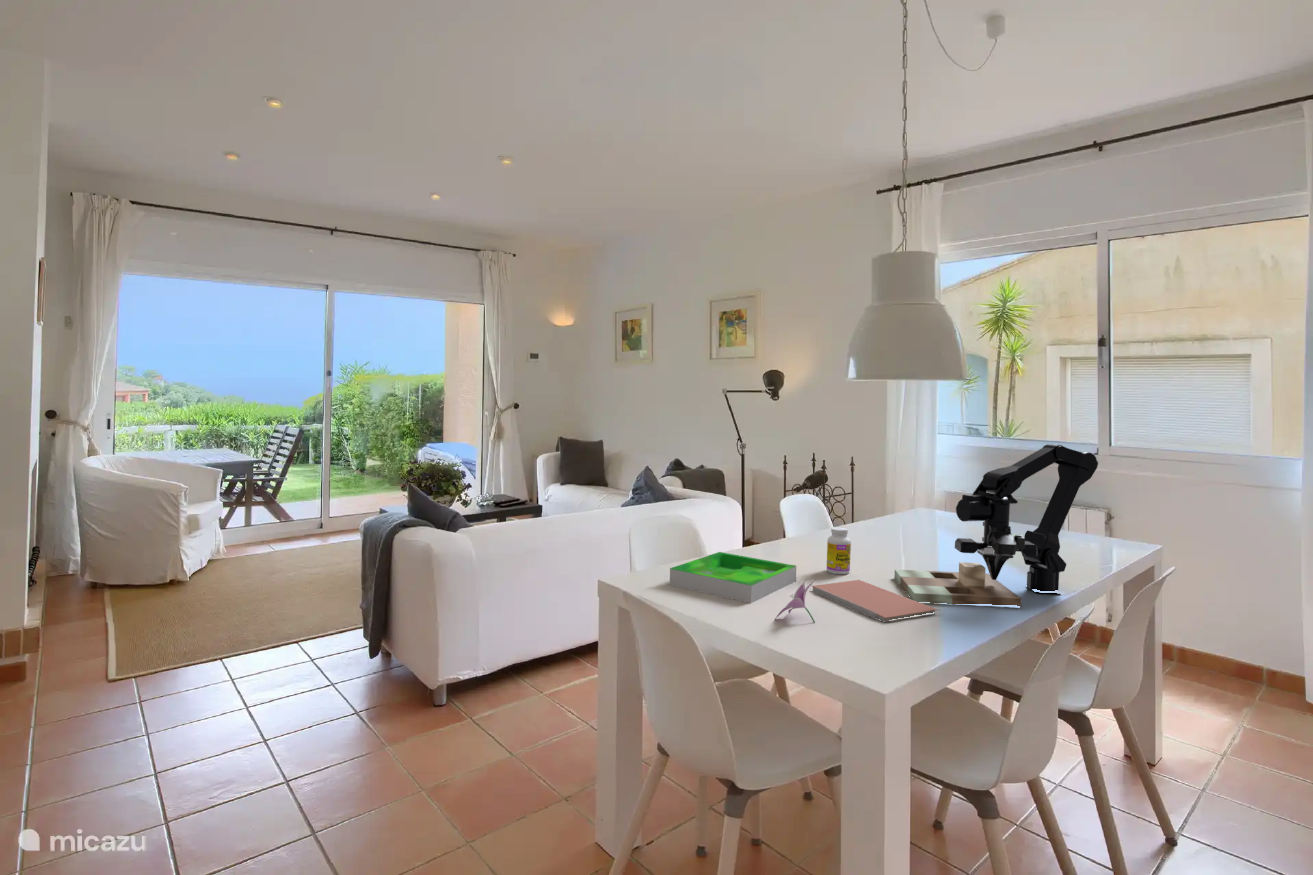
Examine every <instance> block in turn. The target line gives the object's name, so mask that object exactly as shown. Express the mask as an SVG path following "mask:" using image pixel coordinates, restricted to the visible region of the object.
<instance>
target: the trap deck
mask: <svg viewBox="0 0 1313 875" xmlns="http://www.w3.org/2000/svg"><path fill="white" fill-rule="evenodd" d="M958 578H959V571H941V570H939V571H938V570H937V571H936V570H917V569H915V570H914V569H896V568H895V569H894V580H895V581H896V580H897V581H896V582H897V583H898V584H899V586H900V587H901V589H904V590H903V591H904V592H905V591H906V592H905V593H906V595H907V594H908V595H909V596H910V597H909V596H908V595H907V596H908V597H909V599H912V600H914V601H916V602H930V603H947V604H992V605H1017V606H1021V607H1022V598H1021V597H1020V596H1019V595H1017V594H1016V593H1015V592H1013V591H1012V590H1011V589H1009V588H1008V587H1007V586H1005V585H1004V584H1003V583H1002V582H1000V581H999V580H997V579H996V580H992V579H991V576H990V573H985V587H976V586H964V585H963V584H962V583H960V582H959V581H958Z"/></svg>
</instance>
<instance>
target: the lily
mask: <svg viewBox="0 0 1313 875" xmlns="http://www.w3.org/2000/svg"><path fill="white" fill-rule="evenodd" d="M815 581H816V579H814V580H813V581H811V582H810V583H809V584H808V585H807V586H805V583H806V582H805V581H804V582H802V583H801V585H800V586H799V587H798V588H797V590H795V592H794V594H793V593H792V594H791V595H789V597H790V598H792V599H791V600H790V601H789V602H788V603H787V605H785V607H783V609H781V610H780V611H779V612H778V614H777V615H776V617H774V620H776V619H777V618H778V617H779V616H781V615H782V613H784V612H785V611H787V610H788V613H787V614H790V613H791V612H792V610H794V609H805V610H806V611H807V613H808V615H809V616H810V618H811V621H812V622H813V624H815V623H816V621H815V620H814V618H813V616H812V614H811V612H810V611H809V609H808V608H807V607H806V595H807V592H808V590H809V588H810V587H812V586H813V583H815Z"/></svg>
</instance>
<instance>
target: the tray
mask: <svg viewBox="0 0 1313 875" xmlns="http://www.w3.org/2000/svg"><path fill="white" fill-rule="evenodd" d="M795 582H796V583H797V565H794V564H789V563H783V562H776V561H772V560H766V559H761V558H756V557H751V556H743V555H739V554H733V553H727V552H723V551H718V552H715V553H712V554H709V555H706V556H703V557H699V558H698V559H694V560H691V561H687V562H685V563H682V564H679V565H676V566H673V567H670V568H669V586H673V587H676V588H677V587H678V588H681V587H682V588H681V589H687V590H690V589H691V591H695V592H699V593H704V594H708V593H709V594H708V595H712V596H717V595H718V596H717V597H721V596H722V598H727V599H730V598H732V600H734V599H735V601H739V600H740V602H743V603H744V602H745V603H748V602H749V604H753V603H755V602H757V601H759V600H761V599H763V598H765V597H767V596H769V595H771V594H774V593H775V592H778V591H779V590H781V589H784V588H786V587H788V586H790V585H793V584H794V583H795Z"/></svg>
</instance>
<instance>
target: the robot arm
mask: <svg viewBox="0 0 1313 875" xmlns="http://www.w3.org/2000/svg"><path fill="white" fill-rule="evenodd" d="M1053 464H1056V465H1057V473H1058V478H1059V479H1058V482H1057V483H1056V486H1055V489H1054V491H1053V492H1052V495H1051V498H1050V499H1049V502H1048V504H1047V507H1046V508H1045V510H1044V513H1043V516H1042V517H1041V520H1040V522H1039V525H1038V527H1037V528H1035V529H1034V530H1033V531H1032V530H1026V532H1024V533H1025V534H1024V535H1022V534H1021V535H1020V534H1015V535H1013V534H1012V529H1011V527H1012V526H1010V514H1011V512H1010V511H1011V505H1012V504H1013V505H1014V504H1018V502H1019V501H1018V500H1017V499H1016V498H1014V496H1013V495H1012V494H1014V493H1015V492H1016V491H1017V490H1019V488H1021V486H1022V483H1023V482H1025V480H1027V479H1028V478H1030V477H1032V476H1034V475H1035V474H1037V473H1039V472H1041V471H1043V470H1044V469H1046V468H1047V467H1049V466H1051V465H1053ZM1098 465H1099V461H1098V459H1097V456H1096V455H1095V454H1094V453H1092V452H1090V451H1089V452H1087V451H1080V450H1079V451H1078V450H1076V449H1071V448H1068V447H1066V446H1065V445H1062V444H1055V443H1054V444H1053V443H1047V444H1045V445H1043V446H1042V448H1040V449H1038V450H1037V451H1034V452H1033V453H1030V455H1027V456H1026V457H1023V458H1022V459H1021V460H1018V461H1016V462H1015V463H1013V464H1011V465H1009V466H1005V467H1000V468H996V469H992V470H990V471H987V472H986V473H984V474H983V476H982V480H981V481H980V483H979V484H978V485H977V487H976V488H975V489H974V491H973V492H972V494H962V498H961V499H960V500H959V501H958V502H957V504H956V506H955V512H956V516H957V518H958V519H959V520H960V521H961V522H982V526H983V536H982V537H981V541H982V542H979V541H977V542H976V541H975V540H974V539H972V538H962V537H957V538H956V539H955V541H954V549H955V550H957V552H960V553H963V554H975V553H977V554H979V555H980V556H982V558H983V560H984V562H985V565H986V567H987V570H988V574H989V575H990V576H991V579H992V580H997V579H998V577H999V575H1000V573H1001V570H1002V569H1003V566H1004V564H1005V563H1006V561H1008V560H1009V559H1013V558H1014V556H1015V555H1016V552H1020V553H1021V555H1022V558H1023V560H1024V564H1025V565H1026V566H1029V569H1028V570H1029V571H1027V573H1026V585H1027V587H1029V588H1030V589H1037V590H1040V591H1055V590H1058V591H1059V587H1060V586H1059V585H1060V584H1059V583H1060V573H1061V572H1062V573H1063V572H1065V570H1066V568H1067V562H1066V561H1065V560H1064V559H1063V558H1062V557H1061V556H1060V554H1059V553H1060V549H1061V544H1060V538H1059V534H1060V532H1061V530H1062V527H1063V525H1064V523H1065V520H1066V519H1067V516H1068V514H1069V512H1070V510H1071V507H1072V505H1073V502H1074V501H1075V498H1076V497H1077V493H1078V491H1079V488H1080V487H1081V486H1082V485H1084V484H1085V483H1086V482H1088V481H1089V480H1090V479H1091V478H1093V477H1092V476H1094V474H1095V472H1096V470H1097V469H1098ZM1027 587H1026V588H1027ZM1029 588H1028V589H1029ZM1030 589H1029V590H1030Z"/></svg>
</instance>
